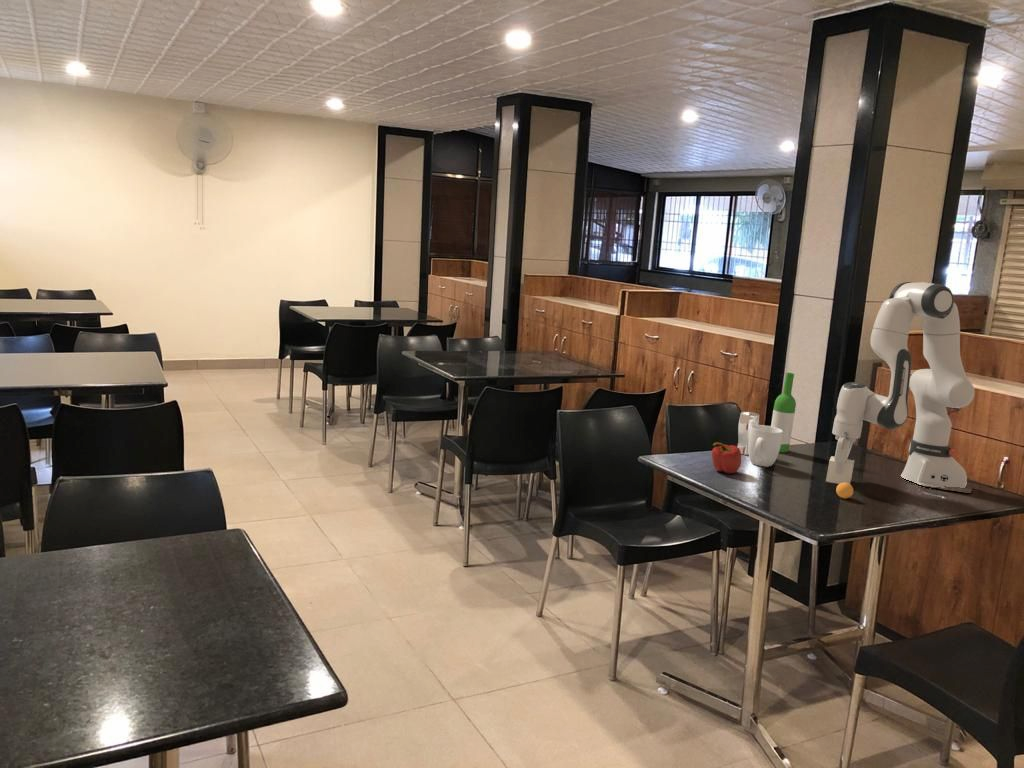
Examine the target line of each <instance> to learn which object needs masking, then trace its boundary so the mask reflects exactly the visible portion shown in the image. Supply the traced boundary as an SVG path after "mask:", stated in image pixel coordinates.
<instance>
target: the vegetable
mask: <svg viewBox="0 0 1024 768" xmlns="http://www.w3.org/2000/svg"><path fill="white" fill-rule="evenodd" d="M712 446H713V448H712V451H711V457H712V464H713V467H714V468H715V470H716V471H718V472H720V473H721V472H722V473H723V472H724V473H725V474H735V473H737V472H738V471H739V469H740V468H741V466H742V465H741V464H742V454H741V452H740V449H739V448H738V447H737V446H738V445H734V444H733V445H732V444H731V445H728V444H723V443H722V442H718V441H717V442H714V443H713V444H712Z"/></svg>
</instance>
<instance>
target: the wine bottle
mask: <svg viewBox="0 0 1024 768" xmlns="http://www.w3.org/2000/svg"><path fill="white" fill-rule="evenodd" d="M794 379H795V373H794V372H786V373H785V378H784V384H783V389H782V393H780V394H779V395H778V396H777V397H776V399H775V400H774V403H773V404H774V405H773V410H772V416H771V424H770V426H771V427H775V428H778V429H781V430H782V431H783V434H782V440H781V446H780V450H779V453H780V454H781V453H782V454H784V453H787V452H788V451H789V450H790V445H791V438H792V432H793V426H794V419H795V413H796V408H797V402H796V399H795V397H794V396H793V395H792V392H793V391H792V390H793V385H794Z"/></svg>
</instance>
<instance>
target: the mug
mask: <svg viewBox="0 0 1024 768" xmlns="http://www.w3.org/2000/svg"><path fill="white" fill-rule="evenodd" d="M782 434H783V431H782V430H781V429H778V428H775V427H771V425H763V424H758V425H752V426H751V428H750V434H749V442H748V452H749V455H748V456H749V461H750V462H751V464H752V463H753V464H752V465H754V464H755V466H757V465H759V466H758V467H761V466H764V467H763V468H770V467H772V465H774V464H775V462H776V461H777V458H778V456H779V453H780V452H779V450H780V446H781V440H782ZM769 466H770V467H769Z"/></svg>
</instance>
